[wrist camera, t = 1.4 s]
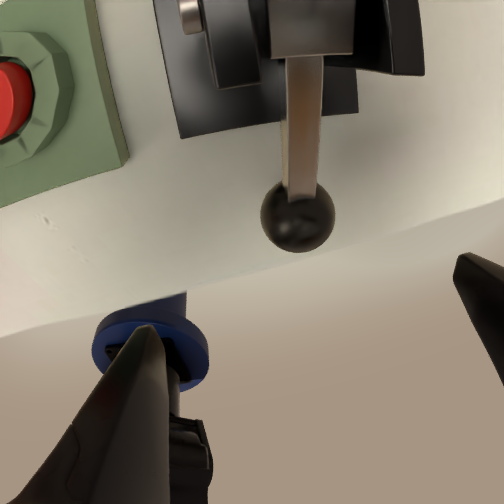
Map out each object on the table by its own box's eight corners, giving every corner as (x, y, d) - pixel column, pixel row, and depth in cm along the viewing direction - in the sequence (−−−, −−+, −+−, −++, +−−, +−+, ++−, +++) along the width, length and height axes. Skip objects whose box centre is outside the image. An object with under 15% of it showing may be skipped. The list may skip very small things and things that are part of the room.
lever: (319, 205, 16) (340, 258, 14) (256, 217, 16) (270, 273, 14) (332, -50, 6) (386, -38, 4) (223, -47, 6) (239, -44, 4)
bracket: (350, 109, 16) (473, 174, 8) (182, 134, 16) (155, 227, 8) (327, -58, 10) (437, -127, 2) (148, -41, 10) (88, -132, 2)
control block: (130, 157, 16) (113, 180, 13) (6, 199, 16) (-22, 226, 13) (90, -30, 10) (64, -46, 7) (-37, 42, 9) (-73, 47, 6)
